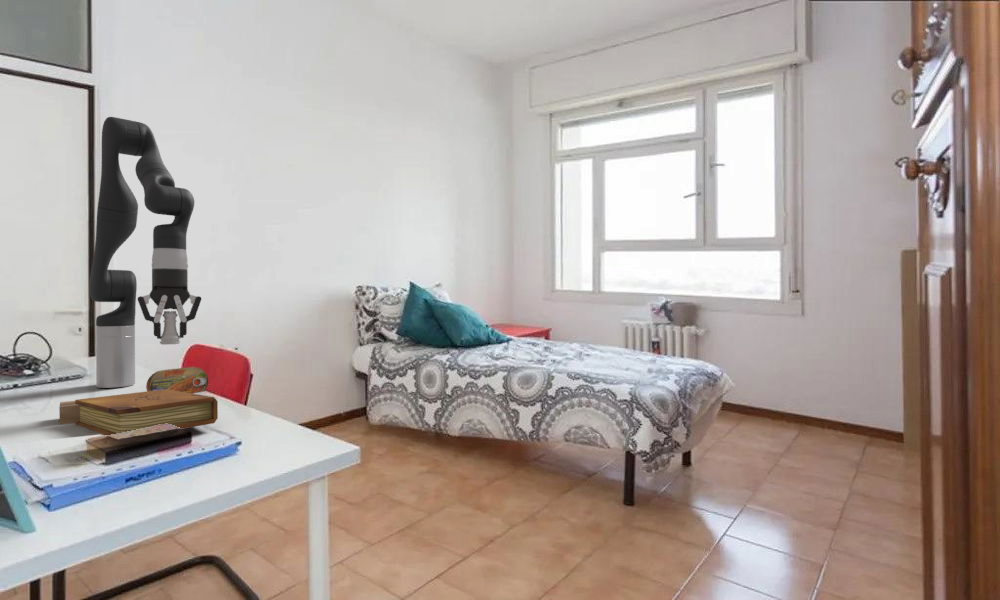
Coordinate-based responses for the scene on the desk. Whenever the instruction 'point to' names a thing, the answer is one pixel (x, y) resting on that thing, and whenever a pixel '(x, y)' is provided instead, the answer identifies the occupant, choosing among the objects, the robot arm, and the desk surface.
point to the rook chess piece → (170, 328)
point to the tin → (179, 380)
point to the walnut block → (69, 412)
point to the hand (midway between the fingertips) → (170, 337)
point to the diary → (146, 411)
